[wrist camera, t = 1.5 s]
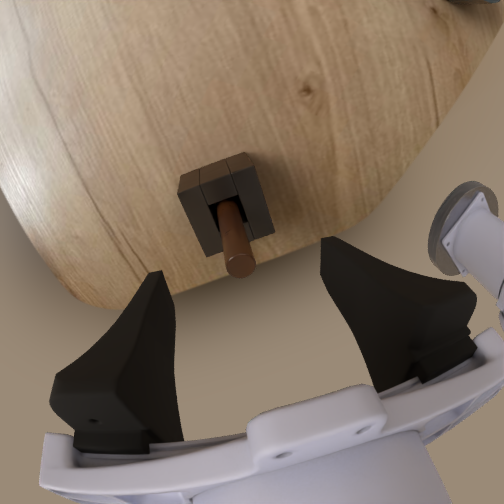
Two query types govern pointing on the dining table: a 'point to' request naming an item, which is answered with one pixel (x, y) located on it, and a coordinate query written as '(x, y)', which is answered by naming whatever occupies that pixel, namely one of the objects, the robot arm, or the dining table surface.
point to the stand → (217, 189)
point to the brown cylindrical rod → (234, 240)
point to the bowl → (473, 1)
